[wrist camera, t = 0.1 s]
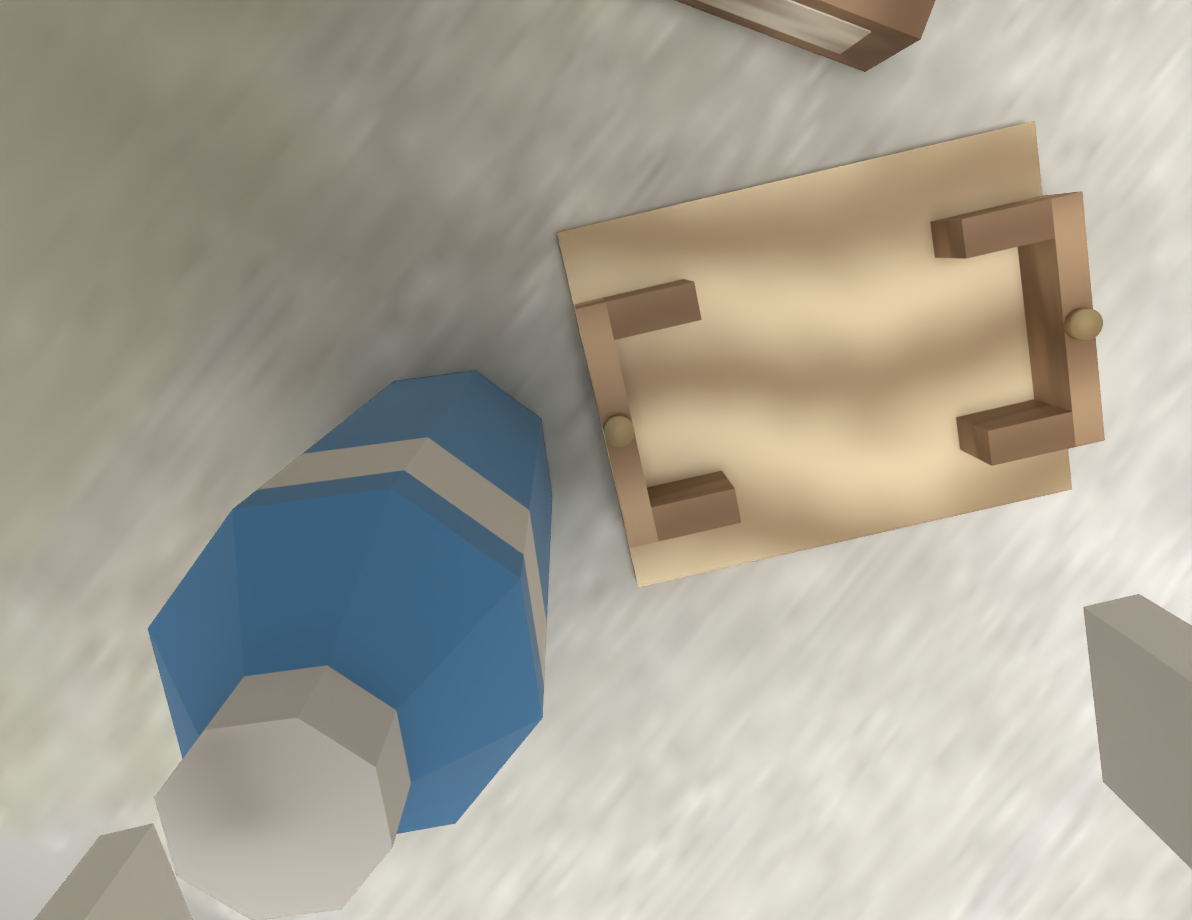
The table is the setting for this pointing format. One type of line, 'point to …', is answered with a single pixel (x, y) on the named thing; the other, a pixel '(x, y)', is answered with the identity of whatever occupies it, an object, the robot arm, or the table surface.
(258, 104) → the table surface
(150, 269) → the table surface
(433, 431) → the water bottle
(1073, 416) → the cleat board
